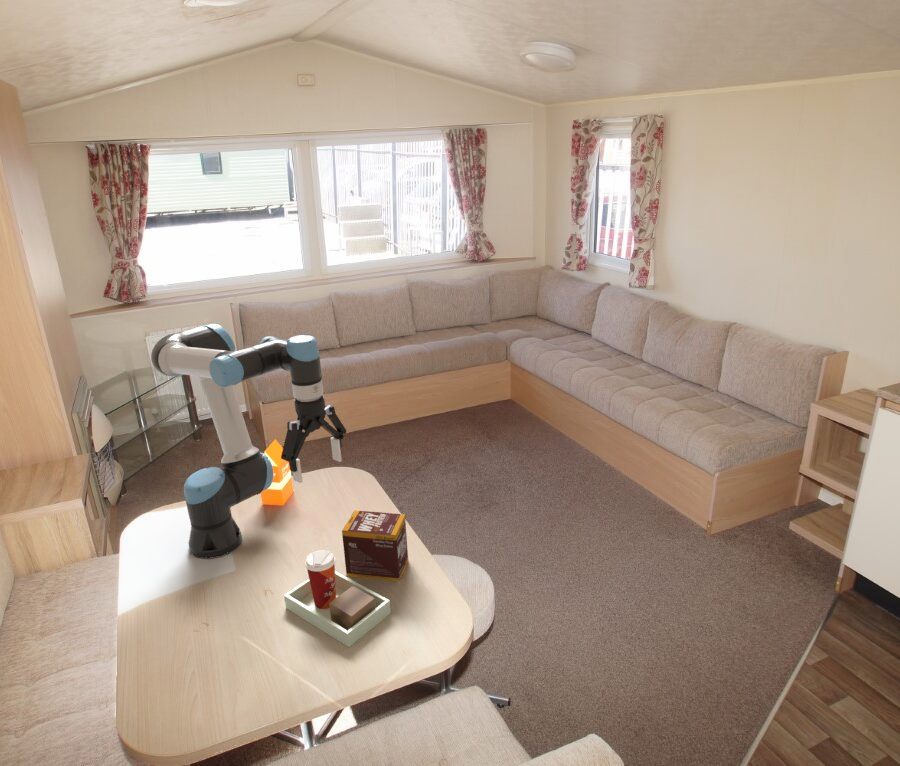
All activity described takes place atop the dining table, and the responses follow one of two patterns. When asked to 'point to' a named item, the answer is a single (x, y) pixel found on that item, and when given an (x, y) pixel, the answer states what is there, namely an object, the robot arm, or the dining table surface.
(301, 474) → the robot arm
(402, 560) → the supplement box
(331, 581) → the paper cup
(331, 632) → the tote
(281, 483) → the orange juice
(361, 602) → the walnut block
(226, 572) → the dining table surface
